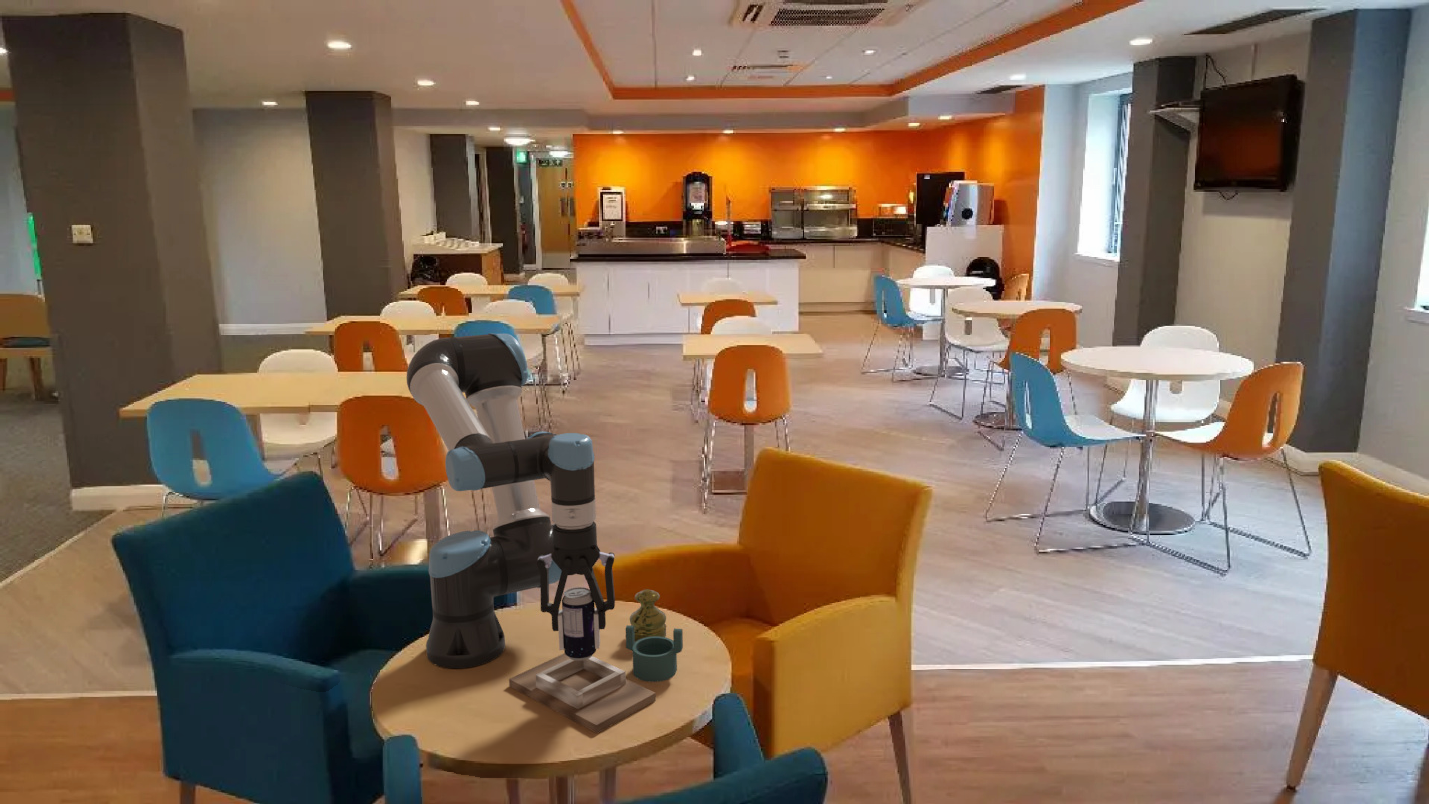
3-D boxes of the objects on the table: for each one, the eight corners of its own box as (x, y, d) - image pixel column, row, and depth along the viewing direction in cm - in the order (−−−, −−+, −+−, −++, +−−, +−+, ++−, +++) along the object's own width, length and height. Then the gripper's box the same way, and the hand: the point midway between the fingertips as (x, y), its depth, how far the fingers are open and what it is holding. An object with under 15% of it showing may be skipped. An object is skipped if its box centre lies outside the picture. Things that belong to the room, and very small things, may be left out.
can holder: (509, 686, 178) (508, 666, 177) (568, 658, 189) (567, 639, 188) (596, 733, 163) (596, 711, 162) (655, 700, 173) (655, 680, 172)
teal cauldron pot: (686, 674, 182) (686, 630, 181) (642, 686, 178) (641, 641, 176) (664, 655, 190) (663, 612, 188) (622, 666, 185) (620, 623, 184)
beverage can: (598, 660, 172) (596, 596, 169) (566, 664, 170) (563, 601, 168) (593, 646, 177) (591, 584, 175) (562, 650, 176) (559, 588, 173)
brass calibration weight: (674, 635, 198) (673, 589, 196) (648, 648, 193) (647, 601, 190) (648, 625, 203) (647, 580, 201) (622, 637, 197) (621, 591, 195)
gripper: (517, 531, 164) (524, 657, 169) (627, 528, 165) (631, 653, 170) (523, 517, 172) (530, 638, 177) (628, 514, 173) (632, 634, 178)
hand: (580, 645), depth 173 cm, fingers closed on beverage can, 6 cm apart
